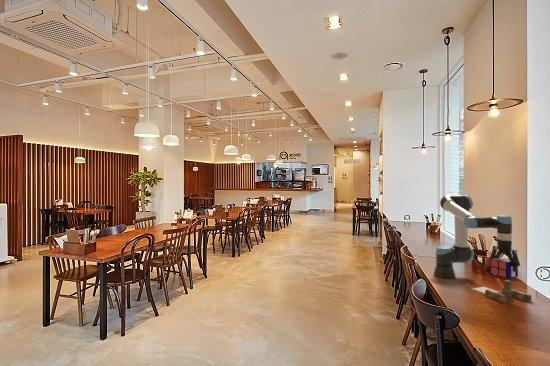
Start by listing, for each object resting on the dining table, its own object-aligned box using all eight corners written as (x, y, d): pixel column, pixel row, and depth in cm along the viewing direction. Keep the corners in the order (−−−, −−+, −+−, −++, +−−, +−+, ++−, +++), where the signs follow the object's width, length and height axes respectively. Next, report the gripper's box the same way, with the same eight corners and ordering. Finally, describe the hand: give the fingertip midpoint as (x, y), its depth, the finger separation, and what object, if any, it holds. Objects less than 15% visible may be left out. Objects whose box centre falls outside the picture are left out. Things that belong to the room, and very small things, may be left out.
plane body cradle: (485, 295, 200) (484, 282, 200) (505, 292, 205) (505, 279, 205) (510, 305, 185) (510, 290, 185) (531, 301, 190) (531, 287, 190)
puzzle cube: (506, 278, 191) (506, 262, 191) (491, 273, 200) (491, 258, 200) (518, 276, 193) (518, 261, 193) (502, 272, 203) (502, 257, 203)
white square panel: (472, 289, 212) (472, 288, 212) (484, 287, 215) (484, 286, 215) (487, 295, 201) (487, 293, 201) (499, 293, 204) (499, 292, 204)
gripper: (483, 236, 206) (483, 269, 207) (518, 243, 185) (518, 280, 185) (491, 236, 209) (491, 268, 209) (527, 242, 187) (527, 278, 187)
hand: (504, 273), depth 197 cm, fingers closed on puzzle cube, 10 cm apart
